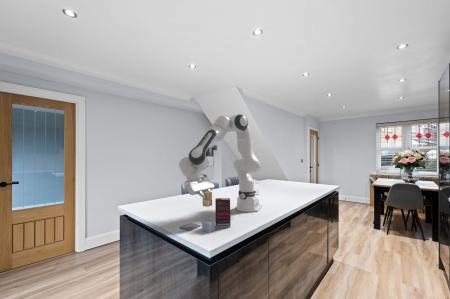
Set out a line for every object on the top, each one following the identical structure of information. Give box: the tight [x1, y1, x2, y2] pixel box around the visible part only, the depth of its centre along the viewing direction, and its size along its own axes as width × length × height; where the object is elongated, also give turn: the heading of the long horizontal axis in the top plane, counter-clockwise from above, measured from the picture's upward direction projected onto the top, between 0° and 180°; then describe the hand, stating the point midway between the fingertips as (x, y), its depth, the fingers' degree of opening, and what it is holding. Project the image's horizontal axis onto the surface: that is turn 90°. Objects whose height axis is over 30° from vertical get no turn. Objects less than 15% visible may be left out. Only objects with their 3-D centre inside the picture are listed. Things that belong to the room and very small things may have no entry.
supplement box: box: [214, 197, 231, 229], centre depth 118 cm, size 9×5×16 cm, turn 92°
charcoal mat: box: [179, 222, 202, 232], centre depth 116 cm, size 9×8×1 cm
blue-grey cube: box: [201, 219, 216, 234], centre depth 111 cm, size 5×5×5 cm
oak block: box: [202, 191, 213, 208], centre depth 120 cm, size 4×4×8 cm
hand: (208, 197), depth 120 cm, fingers closed on oak block, 4 cm apart
